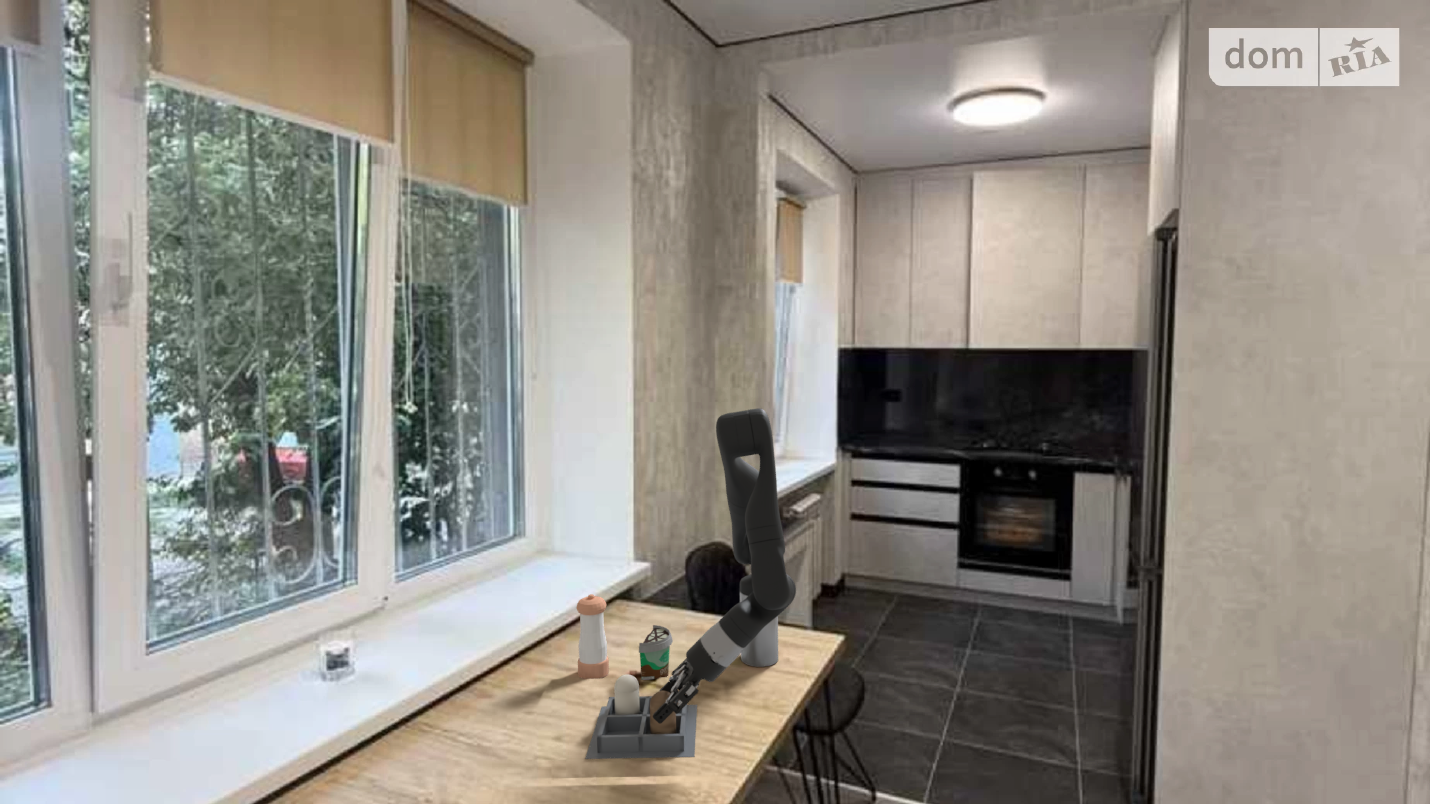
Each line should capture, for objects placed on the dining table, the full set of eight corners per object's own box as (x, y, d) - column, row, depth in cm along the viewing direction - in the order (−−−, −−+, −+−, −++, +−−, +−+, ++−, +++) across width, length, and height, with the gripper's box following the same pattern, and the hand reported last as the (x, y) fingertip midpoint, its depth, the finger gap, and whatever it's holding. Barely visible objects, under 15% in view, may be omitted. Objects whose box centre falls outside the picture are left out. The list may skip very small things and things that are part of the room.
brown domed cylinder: (651, 732, 148) (650, 686, 148) (677, 732, 148) (675, 685, 148) (649, 746, 143) (648, 698, 143) (675, 745, 143) (674, 697, 143)
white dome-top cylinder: (617, 714, 156) (615, 670, 155) (641, 714, 156) (639, 670, 155) (613, 726, 151) (612, 681, 150) (638, 726, 151) (637, 680, 150)
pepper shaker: (572, 677, 177) (569, 597, 175) (588, 665, 183) (586, 588, 182) (598, 681, 174) (596, 601, 172) (614, 669, 181) (612, 591, 179)
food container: (665, 688, 170) (664, 645, 169) (639, 686, 171) (638, 643, 170) (679, 665, 182) (678, 625, 181) (654, 663, 183) (653, 624, 182)
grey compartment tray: (601, 710, 160) (601, 692, 159) (697, 709, 160) (696, 690, 159) (585, 763, 139) (584, 743, 139) (694, 761, 139) (694, 741, 139)
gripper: (702, 623, 151) (647, 679, 152) (700, 652, 137) (640, 713, 138) (729, 648, 152) (673, 704, 152) (730, 679, 137) (669, 741, 138)
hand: (657, 708), depth 145 cm, fingers open, 8 cm apart
